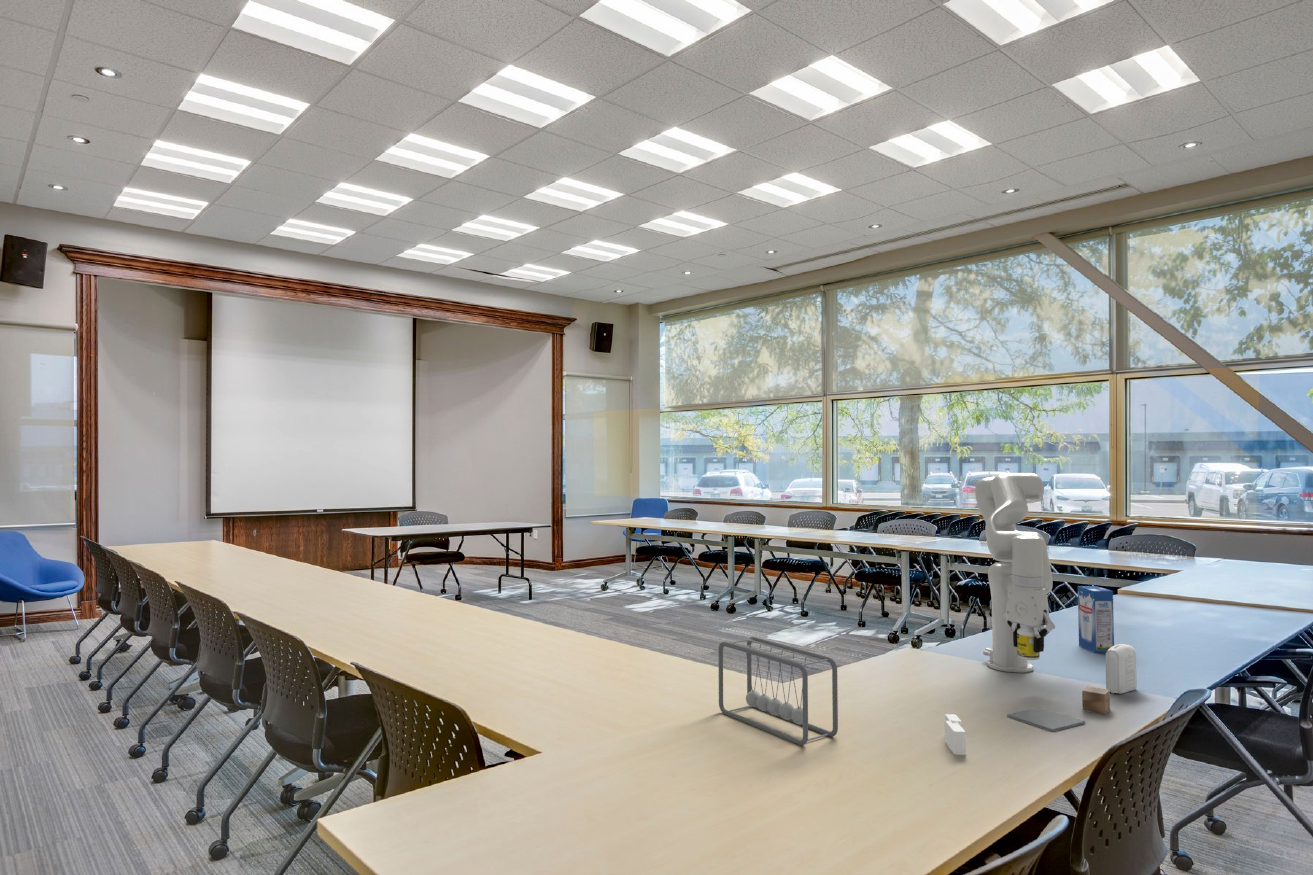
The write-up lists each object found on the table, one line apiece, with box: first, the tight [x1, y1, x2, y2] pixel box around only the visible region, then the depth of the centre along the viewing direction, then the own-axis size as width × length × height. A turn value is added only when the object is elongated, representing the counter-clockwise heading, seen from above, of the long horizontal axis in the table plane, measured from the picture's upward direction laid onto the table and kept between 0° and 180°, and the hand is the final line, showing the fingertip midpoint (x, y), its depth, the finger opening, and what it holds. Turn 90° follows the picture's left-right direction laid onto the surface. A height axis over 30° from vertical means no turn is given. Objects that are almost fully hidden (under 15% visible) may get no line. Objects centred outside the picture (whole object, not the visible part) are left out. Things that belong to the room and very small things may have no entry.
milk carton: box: [1077, 585, 1115, 654], centre depth 256 cm, size 10×6×20 cm, turn 179°
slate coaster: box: [1006, 706, 1086, 733], centre depth 185 cm, size 12×12×1 cm
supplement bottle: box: [1017, 624, 1041, 661], centre depth 208 cm, size 5×5×10 cm
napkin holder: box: [944, 713, 967, 756], centre depth 169 cm, size 15×11×6 cm
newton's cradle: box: [717, 636, 839, 746], centre depth 183 cm, size 30×10×18 cm, turn 35°
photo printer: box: [1105, 643, 1138, 695], centre depth 210 cm, size 10×4×12 cm, turn 123°
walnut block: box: [1081, 685, 1111, 716], centre depth 193 cm, size 5×5×5 cm
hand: (1028, 648), depth 208 cm, fingers closed on supplement bottle, 5 cm apart
